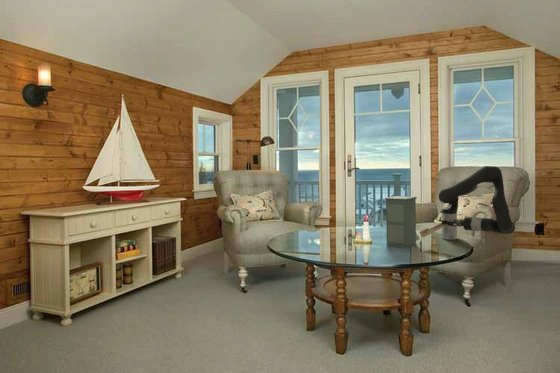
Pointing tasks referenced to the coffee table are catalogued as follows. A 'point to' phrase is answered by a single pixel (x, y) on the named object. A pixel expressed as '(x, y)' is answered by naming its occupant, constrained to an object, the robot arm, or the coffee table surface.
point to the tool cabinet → (401, 221)
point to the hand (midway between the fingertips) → (442, 221)
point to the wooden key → (433, 229)
